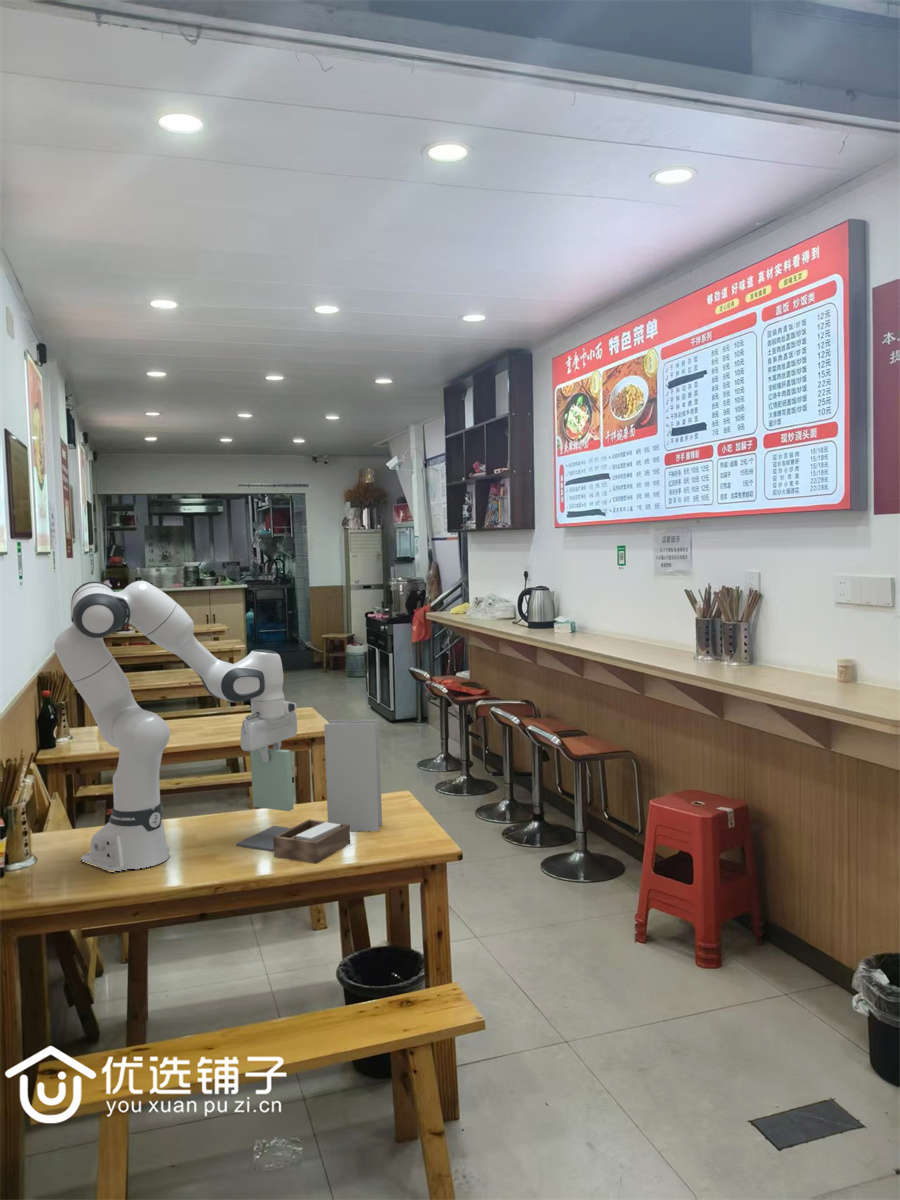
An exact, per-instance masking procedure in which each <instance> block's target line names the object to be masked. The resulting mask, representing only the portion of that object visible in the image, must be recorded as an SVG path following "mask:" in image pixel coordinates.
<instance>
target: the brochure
mask: <svg viewBox="0 0 900 1200" xmlns="http://www.w3.org/2000/svg"><path fill="white" fill-rule="evenodd" d="M323 727H324V728H323V729H324V749H325V750H324V752H325V753H324V754H325V756H324V757H325V780H326V783H325V784H326V804H327V806H326V811H327V822H332V823H339V824H347V825H350V831H379V832H380V828H379V827H380V826H379V825H382V826H383V810H382V782H381V779H382V776H381V774H382V773H381V751H380V750H381V748H380V747H381V746H380V745H381V744H380V721H379V719H337V720H336V719H334V720H333V719H329V720H328V723H324V726H323Z"/></svg>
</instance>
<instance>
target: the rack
mask: <svg viewBox="0 0 900 1200" xmlns="http://www.w3.org/2000/svg"><path fill="white" fill-rule="evenodd" d="M324 822H326V820H325V821H323V820H316V819H308V820H305V821H303V822H301V823H299V824H297V825H295V826H292V827H290V828H291V829H289V830H287V831H285V832H283V833H281V834H279V835H277V836H275V837H273V842H274V851H273V857H276V858H281V859H282V858H283V859H289V860H295V861H300V860H301V862H306V861H308V862H307V863H312V862H314V863H313V864H317V862H318V863H320V862H321V861H323V860H325V859H326V858H327V856H328V857H330V856H331V855H333V854H335V853H337V852H338V851H340V850H342V849H343V848H345V847H347V846H348V844H349V845H350V844H351V832H350V825H347V824H340V825H341V828H339V829H337V830H335V831H333V832H332V833H330V834H328V835H326V836H324V837H322V838H321V839H319V840H317V841H315V842H314V841H307V840H300V839H296V835H298V834H300V833H302V832H305V831H307V830H309V829H311V828H313V827H316V826H318V825H320V824H322V823H324ZM327 822H328V821H327ZM328 823H332V822H328ZM334 824H339V823H334ZM346 845H347V846H346ZM341 848H342V849H341ZM339 849H340V850H339ZM337 850H338V851H337ZM336 851H337V852H336ZM334 852H335V853H334ZM329 855H330V856H329ZM324 858H325V859H324ZM322 859H323V860H322Z"/></svg>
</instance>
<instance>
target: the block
mask: <svg viewBox="0 0 900 1200" xmlns="http://www.w3.org/2000/svg"><path fill="white" fill-rule="evenodd" d="M291 751H292V750H289V749H281V748H280V749H273V748H270V747H268V750H267V752H268V754H269V755H271V761H269V762H263V761H262V755H261V753H260V751H259V749H257V750H254V751H249V753H250V755H249V756H250V772H251V773H250V774H251V775H250V776H251V794H252V807H253V808H259V809H267V810H276V811H283V812H284V811H285V812H291V811H292V810H294V792H293V790H294V789H293V773H292V772H293V770H292V769H293V768H292V753H291Z"/></svg>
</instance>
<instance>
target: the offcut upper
mask: <svg viewBox="0 0 900 1200" xmlns="http://www.w3.org/2000/svg"><path fill="white" fill-rule="evenodd" d="M339 828H341V825H340V824H334V823H328V821H325V822H324V823H322V824H320V825H318V826H316V827H313V828H311V829H309V830H307V831H305V832H302V833H300V834H298V835H296V839H300V840H307V841H314V842H315V841H317V840H319V839H321V838H322V837H324V836H326V835H328V834H330V833H332V832H333V831H335V830H337V829H339Z"/></svg>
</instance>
